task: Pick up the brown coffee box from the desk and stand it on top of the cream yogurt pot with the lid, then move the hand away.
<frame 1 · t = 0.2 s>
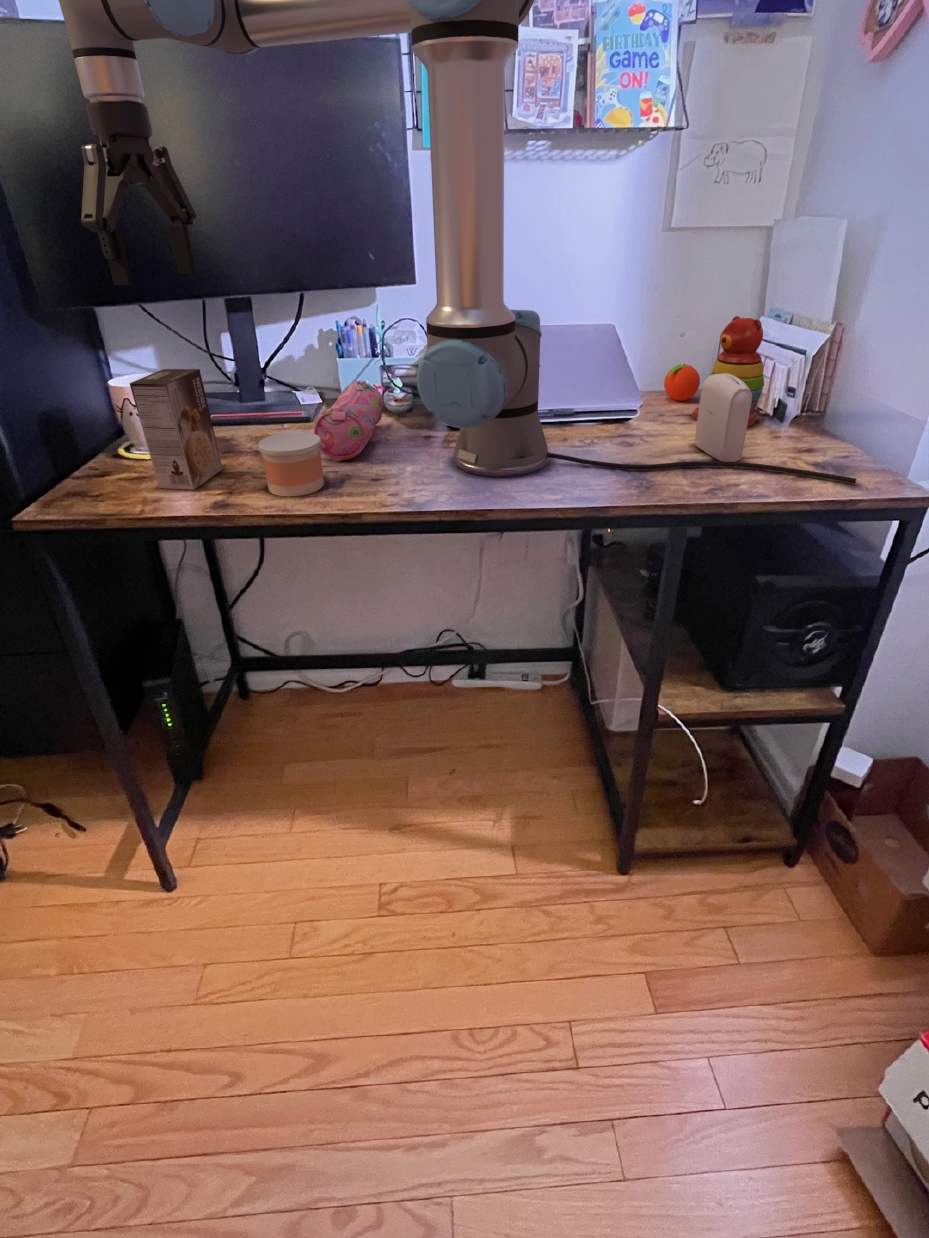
hand: (157, 279, 104), 28 cm above the table, tool pointing down, fingers open, 13 cm apart
photo printer: (716, 454, 115), on the table
clementine: (677, 401, 143), on the table
pencil case: (353, 444, 125), on the table
coffee box: (191, 480, 112), on the table
yogurt pot: (296, 486, 108), on the table
stacking bear: (727, 422, 130), on the table
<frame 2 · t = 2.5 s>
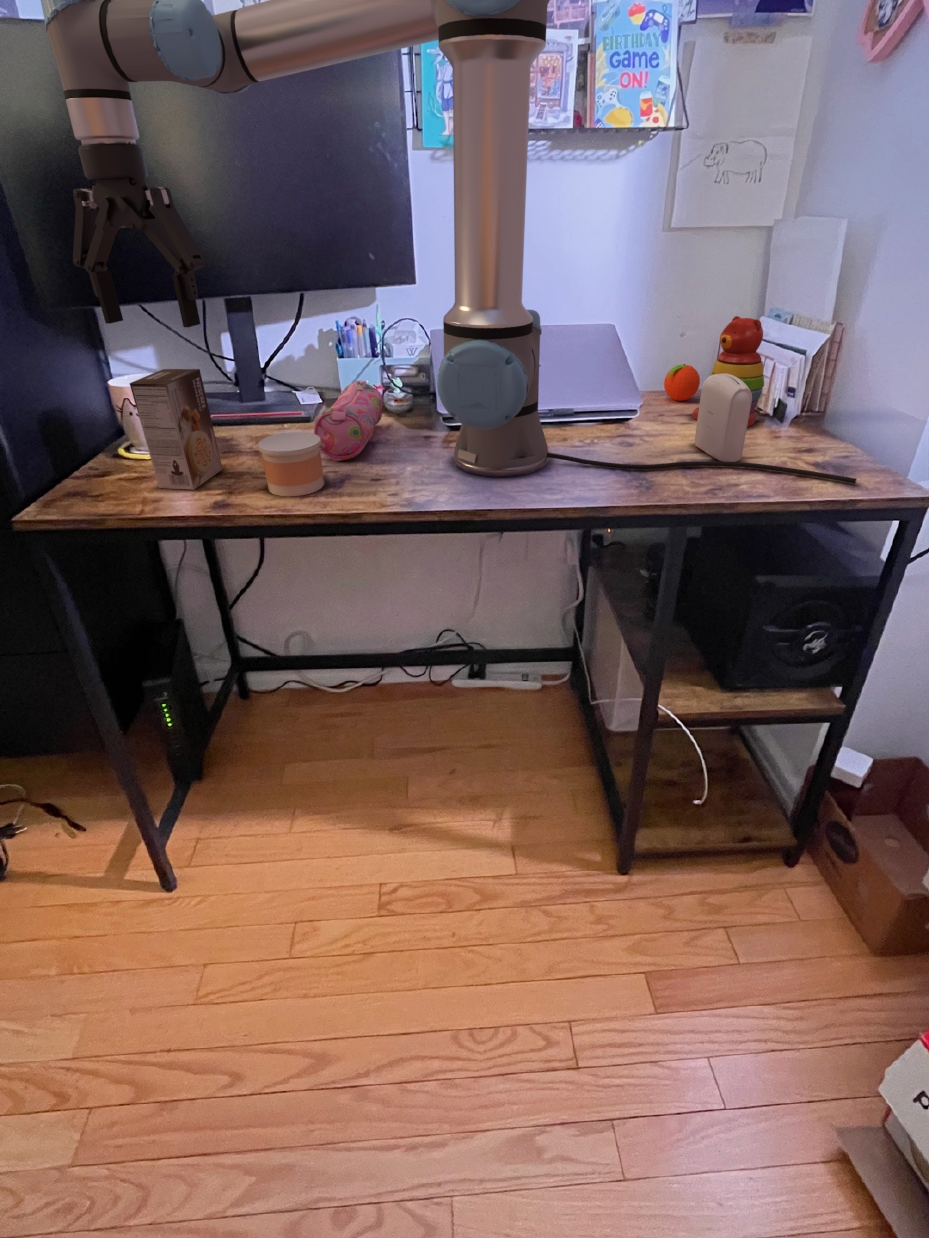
hand: (152, 324, 99), 23 cm above the table, tool pointing down, fingers open, 13 cm apart
nothing on the table moved.
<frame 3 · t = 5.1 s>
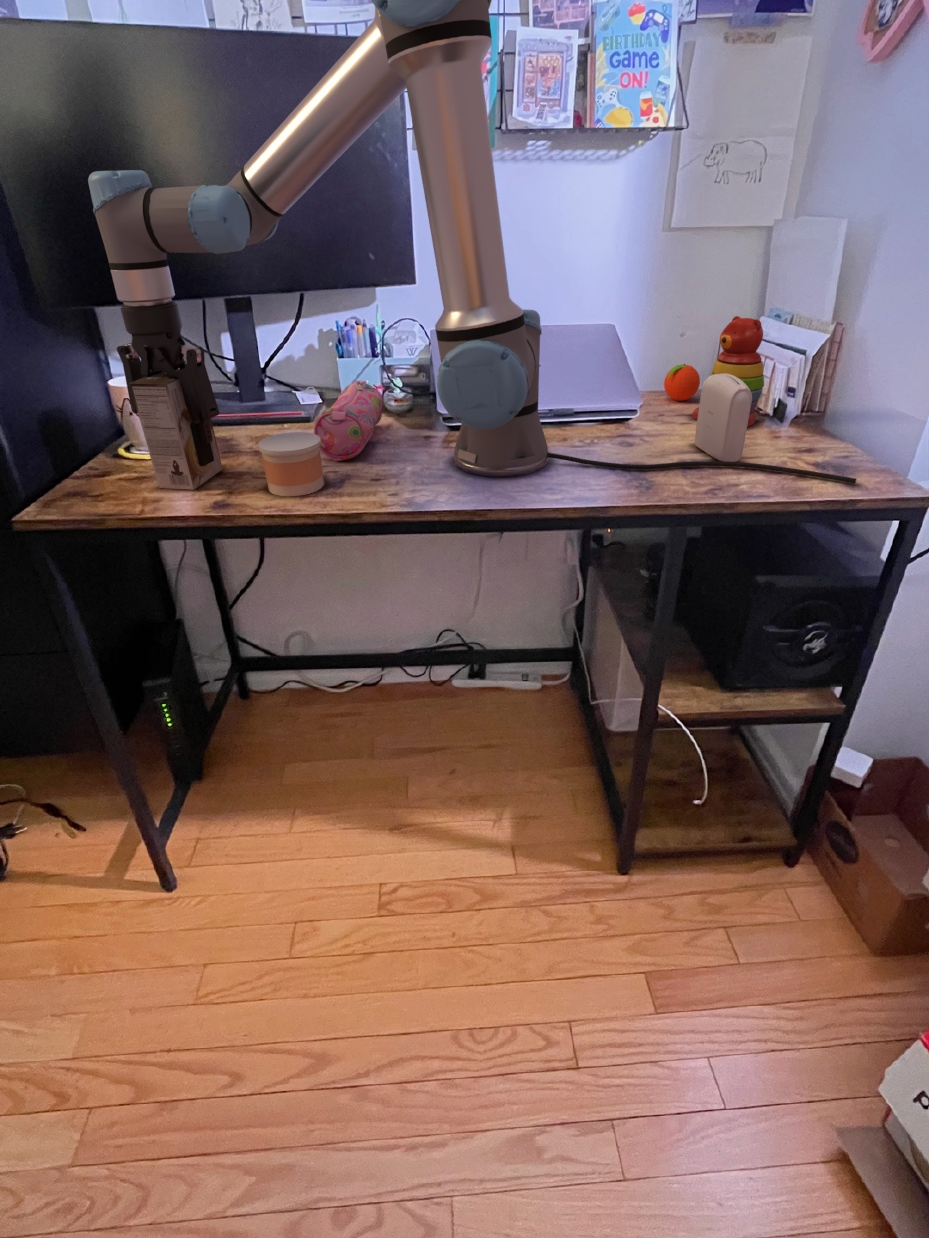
hand: (187, 460, 110), 3 cm above the table, tool pointing down, fingers closed on coffee box, 7 cm apart
coffee box: (191, 480, 112), on the table, touching gripper
everything else where it was.
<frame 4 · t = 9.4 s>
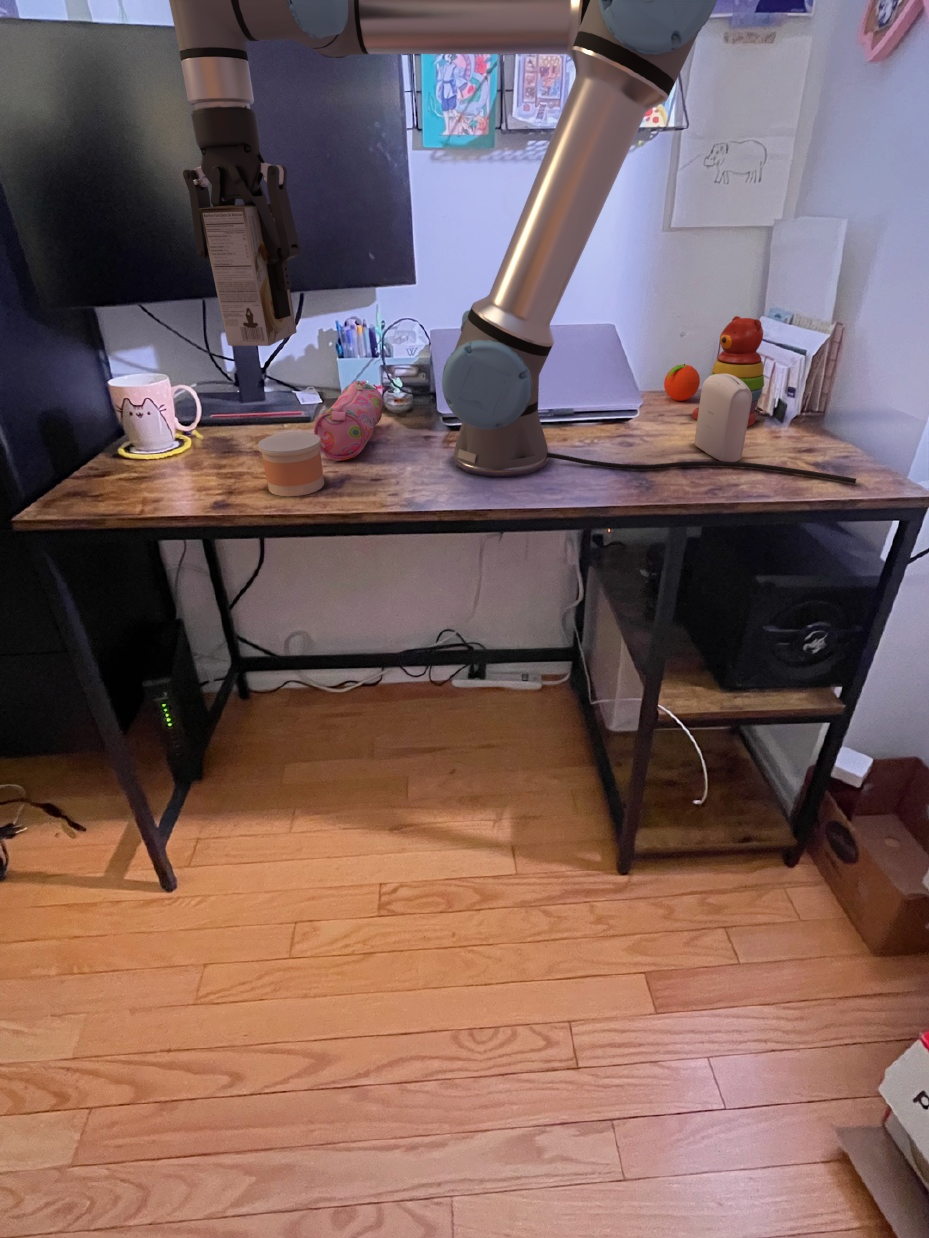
hand: (259, 316, 95), 24 cm above the table, tool pointing down, fingers closed on coffee box, 7 cm apart
coffee box: (263, 341, 97), point 21 cm above the table, touching gripper
everything else where it was.
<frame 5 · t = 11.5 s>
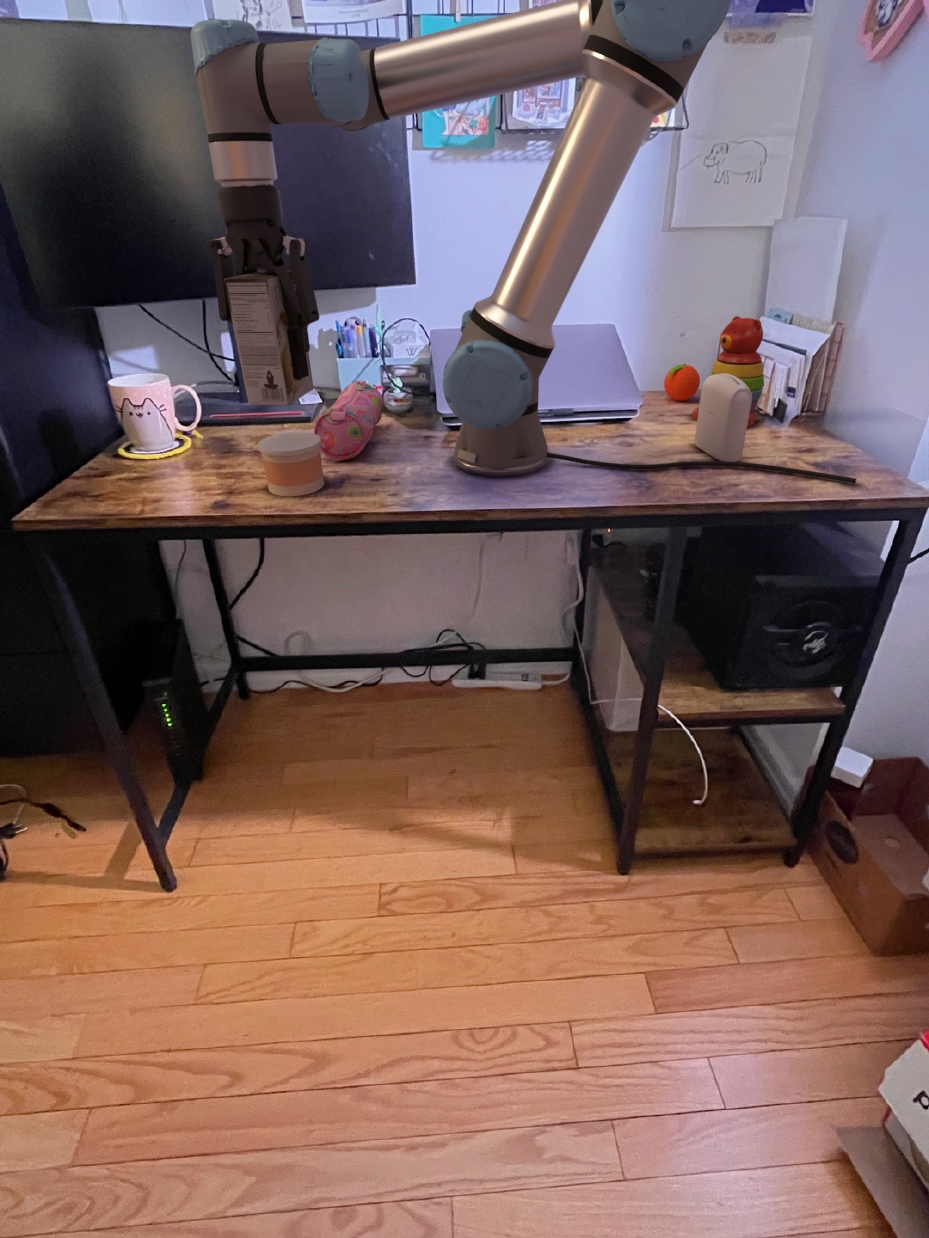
hand: (278, 375, 99), 16 cm above the table, tool pointing down, fingers closed on coffee box, 7 cm apart
coffee box: (282, 398, 101), point 13 cm above the table, touching gripper
everything else where it was.
when the fingers open (10 cm above the table, at t = 13.6 s): coffee box stays where it is, resting on yogurt pot.
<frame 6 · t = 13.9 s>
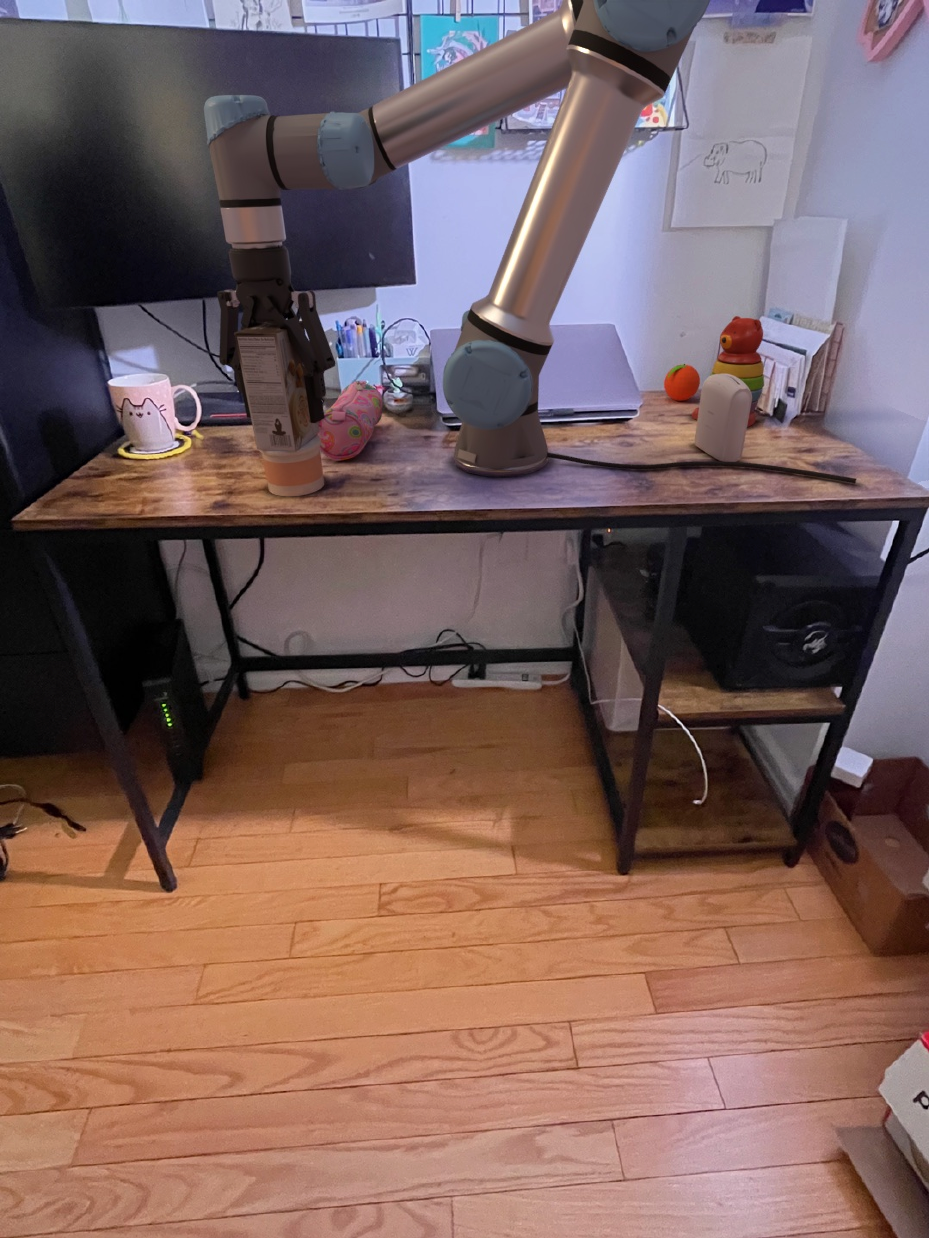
hand: (285, 417, 102), 10 cm above the table, tool pointing down, fingers open, 10 cm apart
coffee box: (289, 442, 104), point 7 cm above the table, touching yogurt pot
yogurt pot: (296, 486, 108), on the table, touching coffee box
everything else where it was.
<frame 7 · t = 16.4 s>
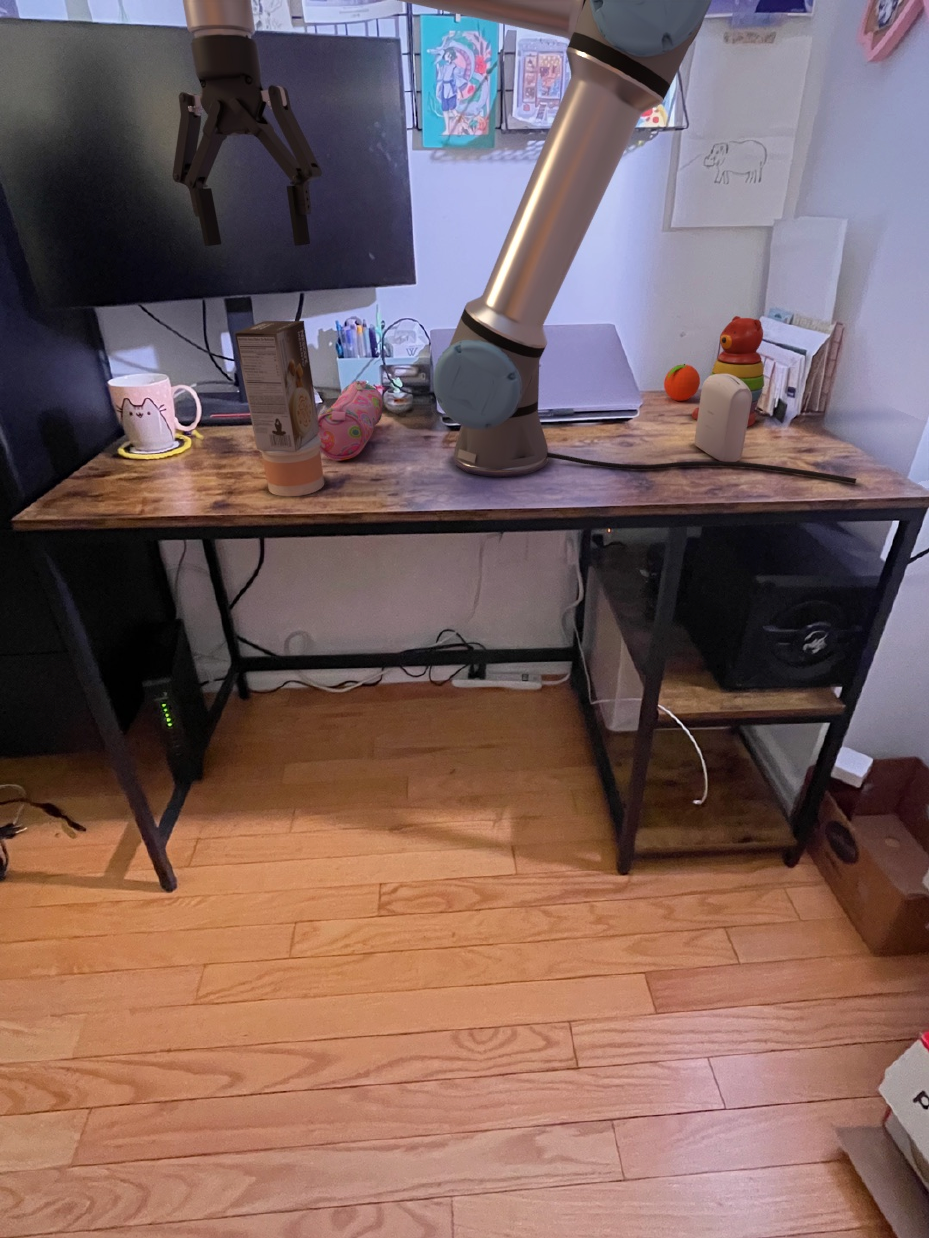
hand: (257, 245, 92), 33 cm above the table, tool pointing down, fingers open, 13 cm apart
nothing on the table moved.
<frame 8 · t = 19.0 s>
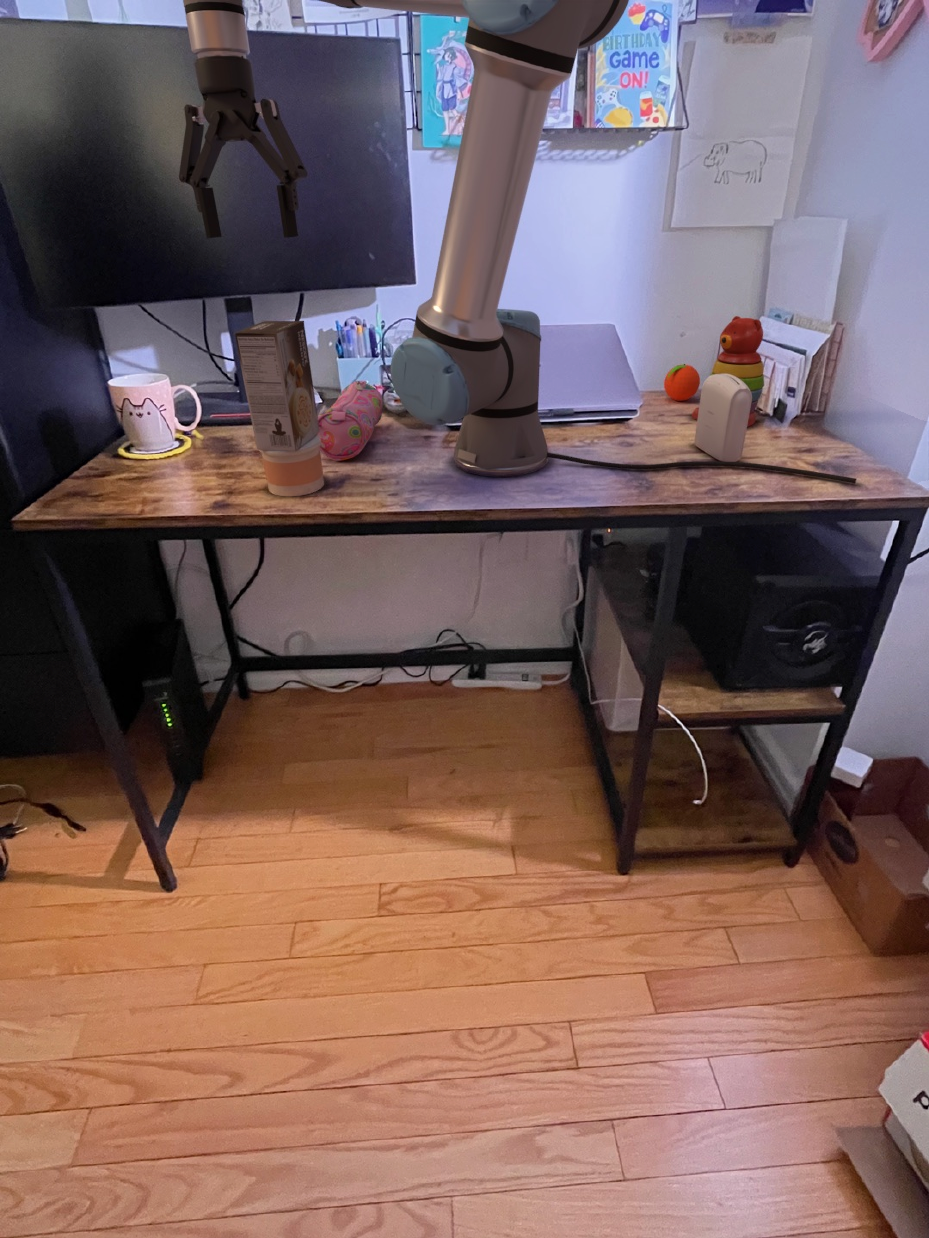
hand: (252, 237, 106), 33 cm above the table, tool pointing down, fingers open, 13 cm apart
nothing on the table moved.
at the end: coffee box 0.0 cm off-centre on the yogurt pot, point 6.8 cm above the yogurt pot's base; coffee box tilted 0°; yogurt pot tilted 0° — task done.
